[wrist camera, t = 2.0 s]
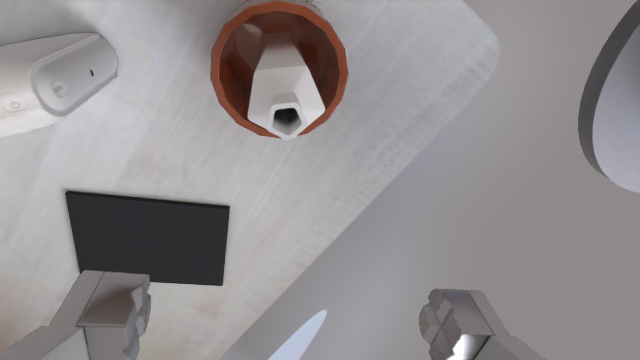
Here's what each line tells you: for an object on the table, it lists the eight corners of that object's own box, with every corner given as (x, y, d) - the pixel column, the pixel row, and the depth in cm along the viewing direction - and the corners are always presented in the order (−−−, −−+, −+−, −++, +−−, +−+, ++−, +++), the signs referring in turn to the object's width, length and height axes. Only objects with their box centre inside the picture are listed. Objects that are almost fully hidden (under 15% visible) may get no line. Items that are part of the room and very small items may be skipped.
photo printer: (106, 24, 29) (12, 64, 18) (128, 77, 31) (56, 139, 21) (-23, 47, 29) (-191, 99, 18) (10, 98, 31) (-123, 171, 21)
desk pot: (344, 5, 30) (362, 18, 24) (321, 113, 35) (331, 145, 29) (226, -21, 28) (214, -14, 22) (219, 97, 33) (207, 128, 27)
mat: (229, 206, 39) (229, 209, 39) (222, 282, 45) (222, 286, 45) (67, 190, 36) (64, 193, 36) (82, 275, 42) (80, 278, 42)
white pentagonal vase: (243, 39, 30) (222, 100, 18) (291, 17, 30) (305, 63, 17) (268, 88, 33) (265, 172, 20) (312, 68, 32) (338, 142, 20)
